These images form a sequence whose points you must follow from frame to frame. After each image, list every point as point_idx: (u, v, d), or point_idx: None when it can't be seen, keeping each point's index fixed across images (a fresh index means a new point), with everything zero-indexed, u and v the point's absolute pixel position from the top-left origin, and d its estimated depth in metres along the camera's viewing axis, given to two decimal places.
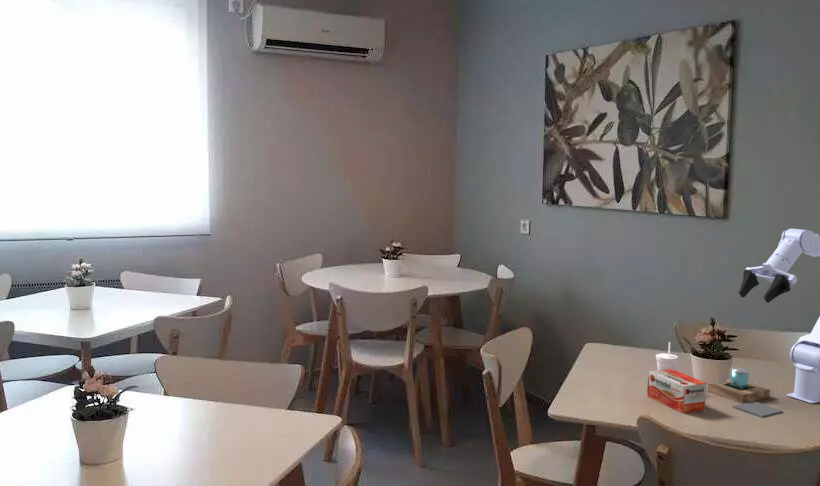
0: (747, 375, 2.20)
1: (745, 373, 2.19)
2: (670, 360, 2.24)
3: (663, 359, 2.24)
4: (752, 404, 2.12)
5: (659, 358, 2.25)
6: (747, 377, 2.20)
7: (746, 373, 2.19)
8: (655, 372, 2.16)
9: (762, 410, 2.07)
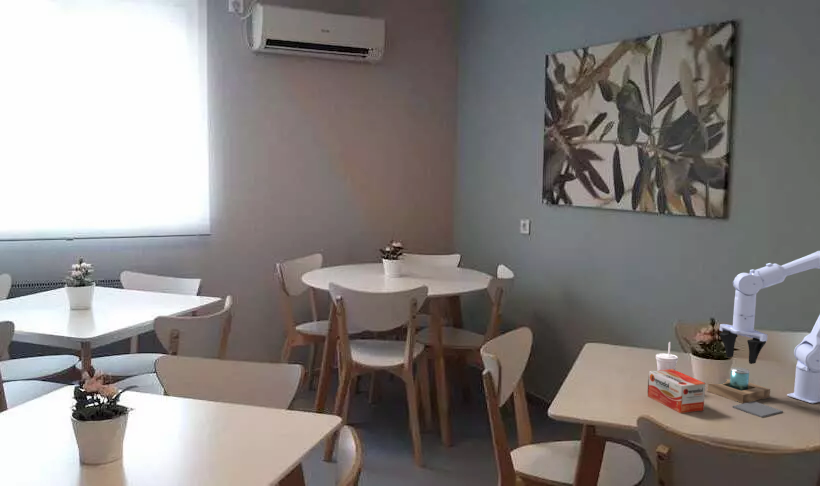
0: (747, 375, 2.20)
1: (745, 373, 2.19)
2: (670, 360, 2.24)
3: (663, 359, 2.24)
4: (752, 404, 2.12)
5: (659, 358, 2.25)
6: (747, 377, 2.20)
7: (746, 373, 2.19)
8: (655, 372, 2.17)
9: (762, 410, 2.07)
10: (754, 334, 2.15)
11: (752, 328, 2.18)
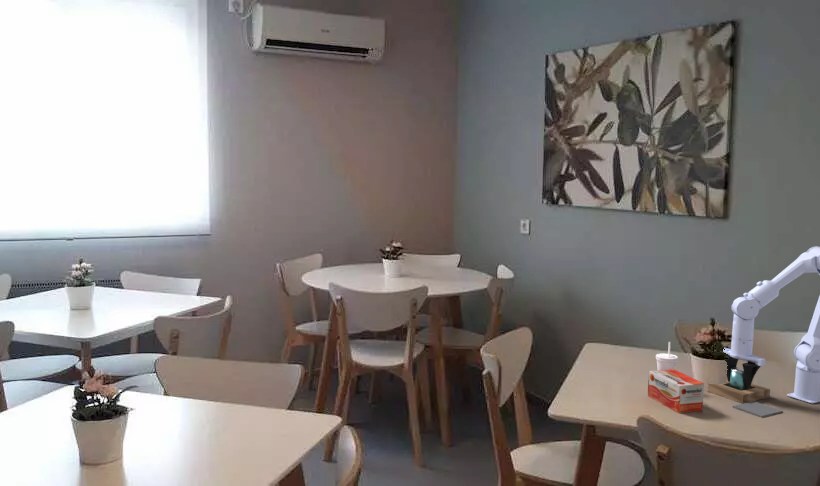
0: None
1: None
2: (670, 360, 2.24)
3: (663, 359, 2.24)
4: (752, 404, 2.12)
5: (659, 358, 2.25)
6: None
7: None
8: (655, 372, 2.17)
9: (762, 410, 2.07)
10: (752, 359, 2.16)
11: (750, 352, 2.19)
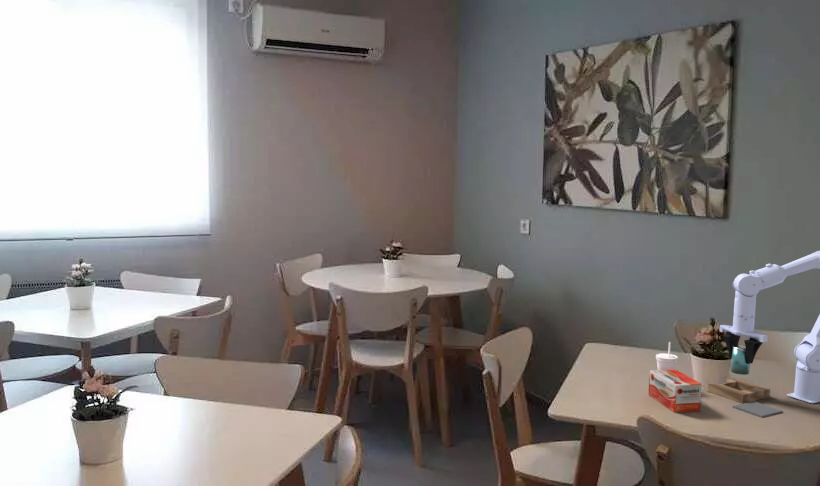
0: None
1: None
2: (670, 360, 2.24)
3: (663, 359, 2.24)
4: (752, 404, 2.12)
5: (659, 358, 2.25)
6: None
7: None
8: (655, 371, 2.17)
9: (762, 410, 2.07)
10: (754, 335, 2.15)
11: (752, 329, 2.18)
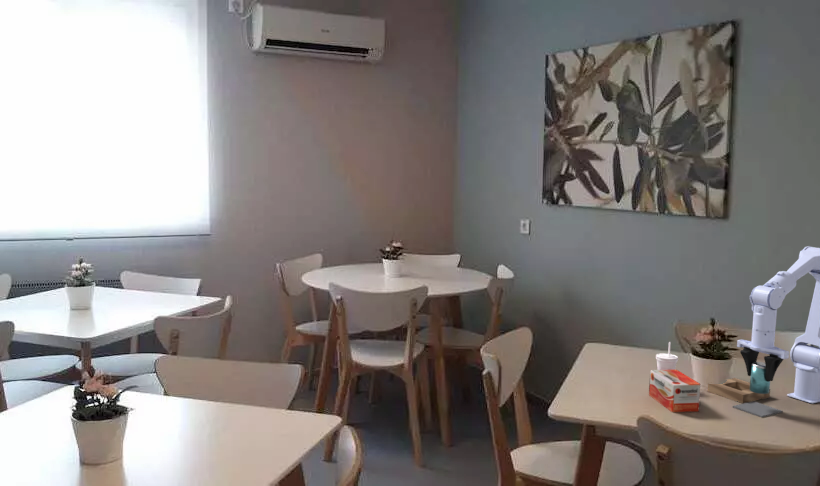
0: None
1: None
2: (670, 360, 2.24)
3: (663, 359, 2.24)
4: (752, 404, 2.12)
5: (659, 358, 2.25)
6: None
7: None
8: (656, 371, 2.17)
9: (762, 410, 2.07)
10: (775, 351, 2.02)
11: (772, 345, 2.04)
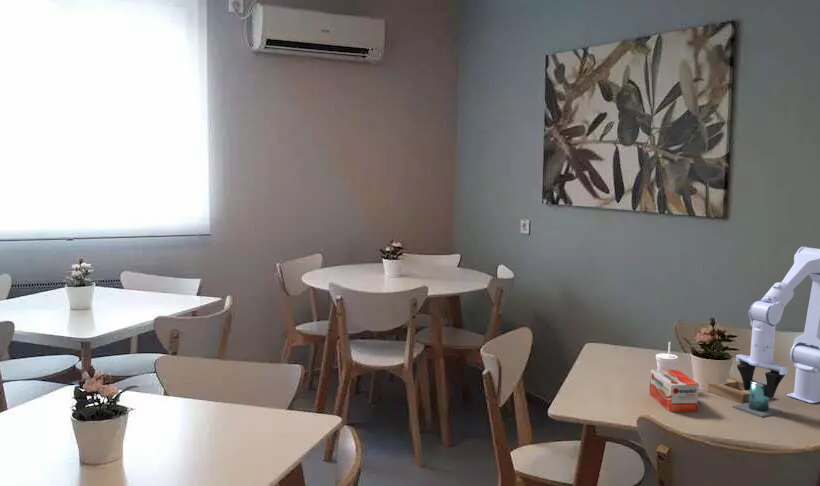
0: None
1: None
2: (670, 360, 2.24)
3: (663, 359, 2.24)
4: None
5: (659, 358, 2.25)
6: None
7: None
8: (656, 371, 2.18)
9: None
10: (773, 367, 2.02)
11: (771, 360, 2.05)
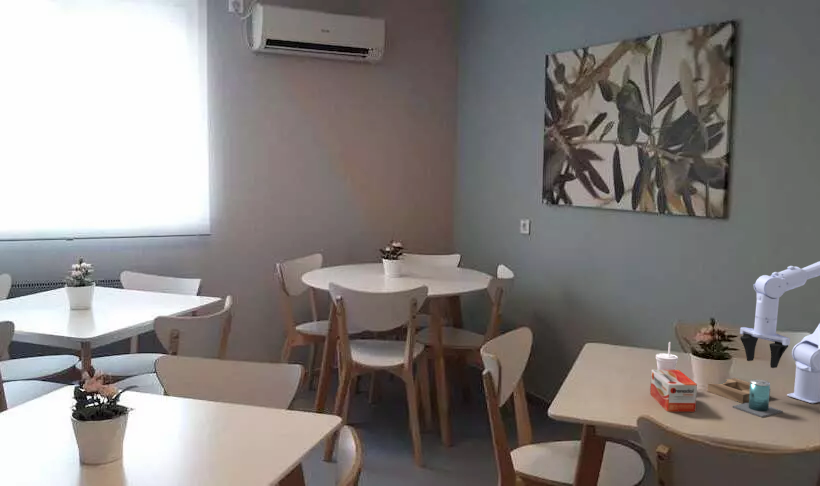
0: (768, 387, 2.06)
1: (767, 385, 2.06)
2: (670, 360, 2.24)
3: (663, 359, 2.24)
4: None
5: (659, 358, 2.25)
6: (768, 389, 2.07)
7: (768, 385, 2.06)
8: (656, 370, 2.18)
9: None
10: (776, 338, 2.11)
11: (774, 332, 2.14)
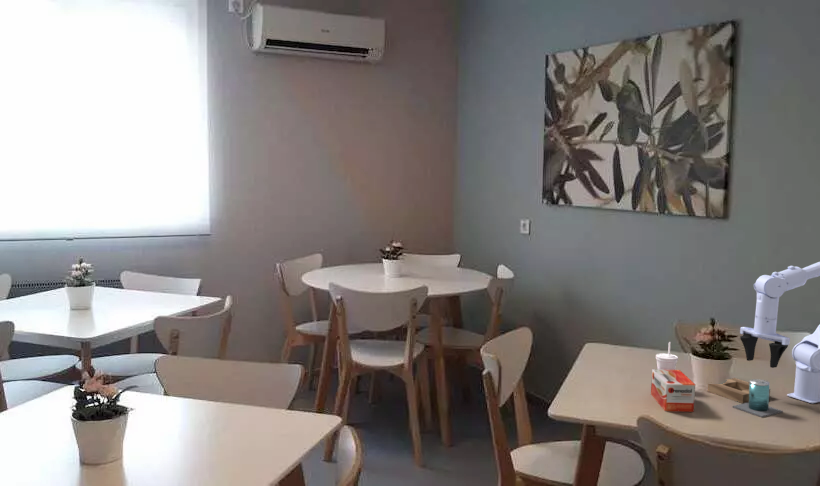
0: (768, 387, 2.06)
1: (766, 385, 2.06)
2: (670, 360, 2.24)
3: (663, 359, 2.24)
4: None
5: (659, 358, 2.25)
6: (768, 389, 2.07)
7: (767, 385, 2.06)
8: (657, 370, 2.18)
9: None
10: (776, 337, 2.12)
11: (774, 331, 2.14)
